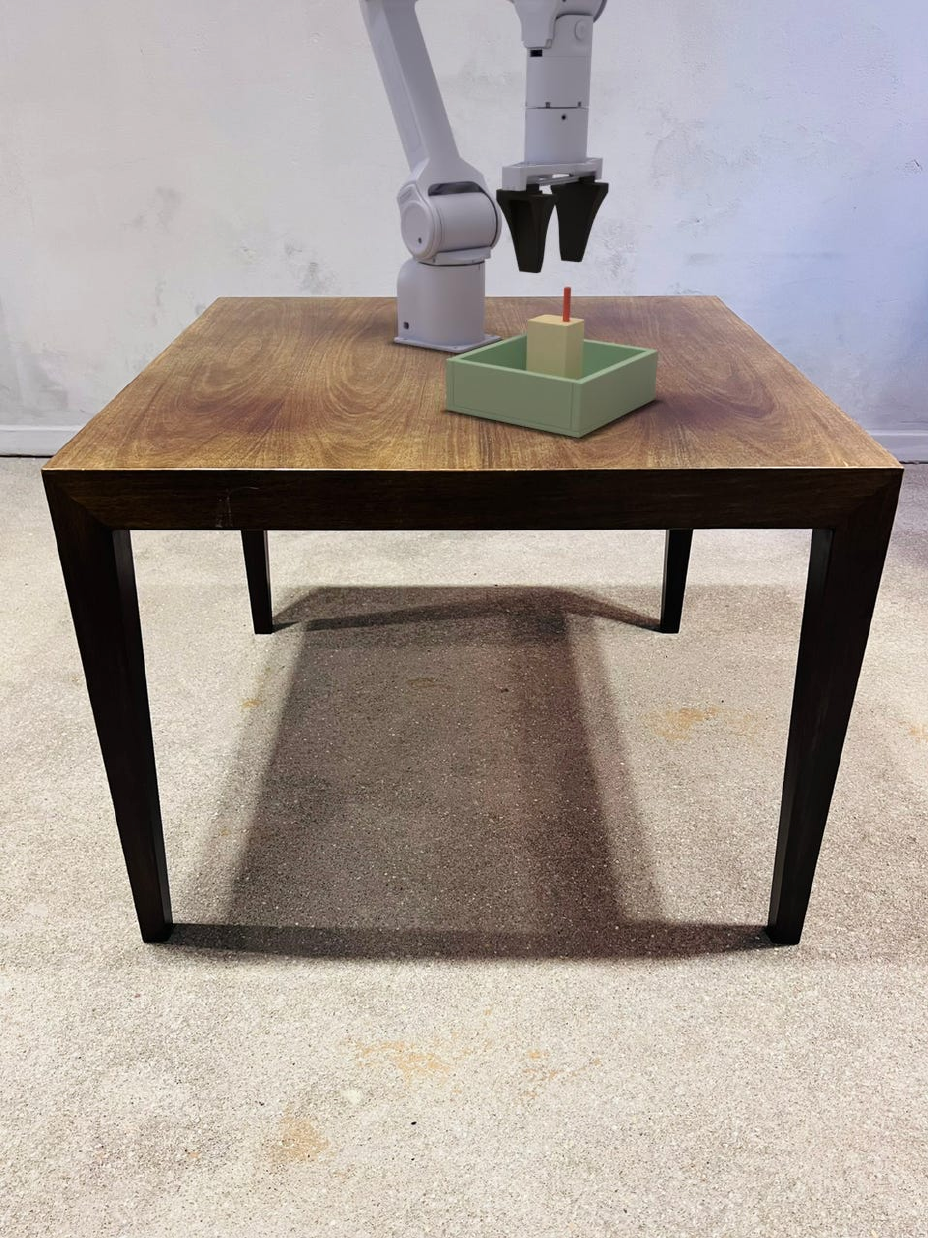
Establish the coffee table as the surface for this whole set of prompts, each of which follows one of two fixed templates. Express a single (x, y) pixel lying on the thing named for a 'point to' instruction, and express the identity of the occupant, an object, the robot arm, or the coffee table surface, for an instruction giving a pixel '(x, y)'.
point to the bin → (551, 386)
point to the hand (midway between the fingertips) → (551, 266)
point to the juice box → (556, 343)
